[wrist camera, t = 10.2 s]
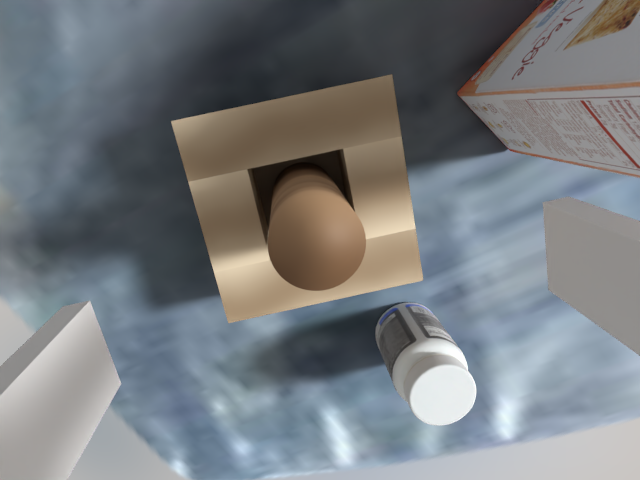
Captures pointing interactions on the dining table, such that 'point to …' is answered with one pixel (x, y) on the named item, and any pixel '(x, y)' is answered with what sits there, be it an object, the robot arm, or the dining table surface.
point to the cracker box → (567, 85)
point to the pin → (313, 230)
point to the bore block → (271, 159)
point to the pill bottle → (425, 364)
